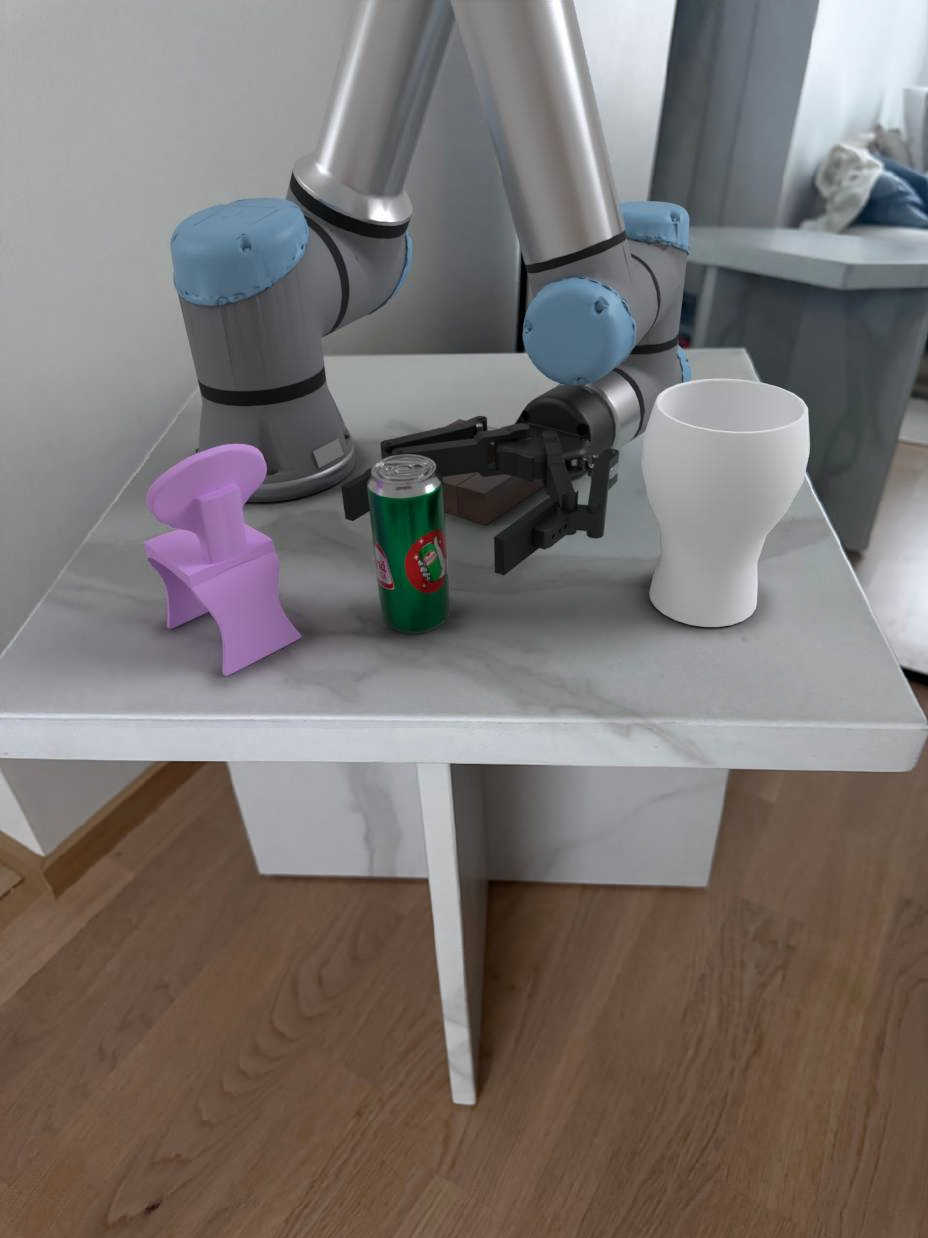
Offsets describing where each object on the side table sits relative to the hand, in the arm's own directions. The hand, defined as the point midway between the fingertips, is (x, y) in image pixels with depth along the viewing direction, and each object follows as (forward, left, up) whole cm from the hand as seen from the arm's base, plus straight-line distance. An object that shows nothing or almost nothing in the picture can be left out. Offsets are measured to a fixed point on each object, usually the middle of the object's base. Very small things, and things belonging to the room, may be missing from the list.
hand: (418, 528), depth 60 cm
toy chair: (-10, -10, -7) cm, 16 cm away
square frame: (-10, +19, -7) cm, 23 cm away
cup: (+16, +13, -7) cm, 22 cm away
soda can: (0, -1, -7) cm, 7 cm away
